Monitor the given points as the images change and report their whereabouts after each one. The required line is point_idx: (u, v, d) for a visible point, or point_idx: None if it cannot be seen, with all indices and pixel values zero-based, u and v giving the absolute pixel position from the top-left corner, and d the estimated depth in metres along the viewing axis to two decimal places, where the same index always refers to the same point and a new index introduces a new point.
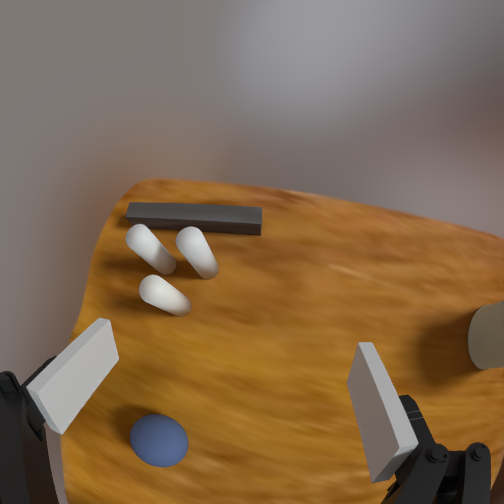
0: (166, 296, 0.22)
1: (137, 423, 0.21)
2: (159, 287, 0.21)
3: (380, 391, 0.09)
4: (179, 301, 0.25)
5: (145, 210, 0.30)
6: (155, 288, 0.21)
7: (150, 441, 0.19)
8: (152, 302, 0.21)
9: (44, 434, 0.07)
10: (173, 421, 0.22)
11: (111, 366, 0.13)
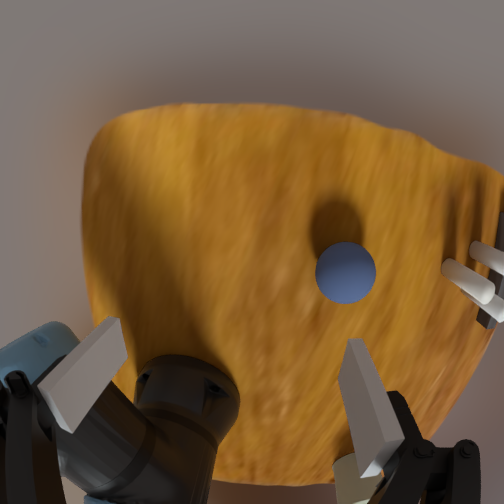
0: (479, 301, 0.20)
1: (370, 259, 0.24)
2: (487, 299, 0.19)
3: (368, 386, 0.09)
4: (463, 289, 0.23)
5: None
6: (487, 296, 0.19)
7: (362, 285, 0.23)
8: (480, 295, 0.19)
9: (54, 433, 0.07)
10: None
11: (120, 364, 0.13)
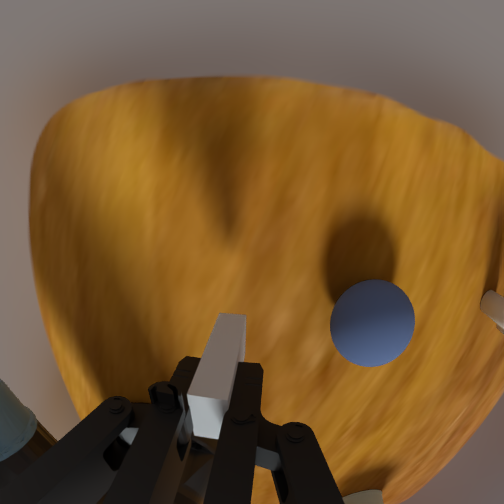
0: None
1: (410, 306, 0.15)
2: None
3: (222, 352, 0.11)
4: None
5: None
6: None
7: (398, 347, 0.14)
8: None
9: (188, 450, 0.08)
10: None
11: None
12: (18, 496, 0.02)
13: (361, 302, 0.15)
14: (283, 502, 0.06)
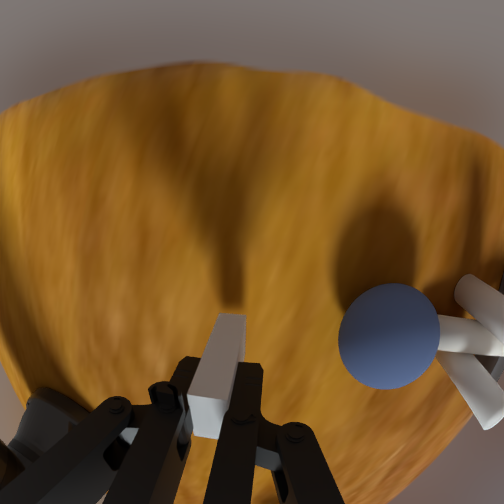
0: None
1: (354, 306, 0.13)
2: None
3: (222, 352, 0.11)
4: None
5: None
6: None
7: None
8: None
9: (188, 450, 0.08)
10: (356, 375, 0.12)
11: None
12: (18, 496, 0.02)
13: None
14: (283, 502, 0.06)
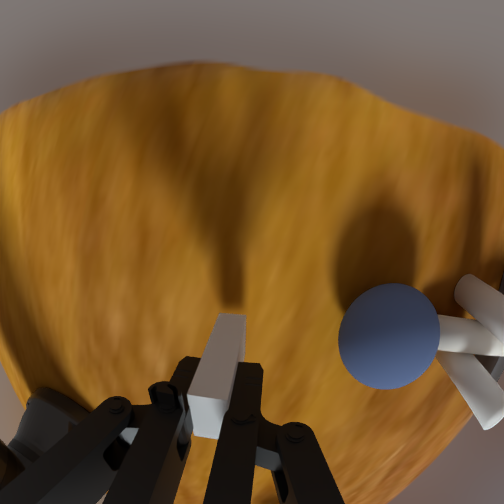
0: None
1: (354, 306, 0.13)
2: None
3: (222, 352, 0.11)
4: None
5: None
6: None
7: None
8: None
9: (188, 450, 0.08)
10: (356, 375, 0.12)
11: None
12: (18, 496, 0.02)
13: None
14: (283, 502, 0.06)
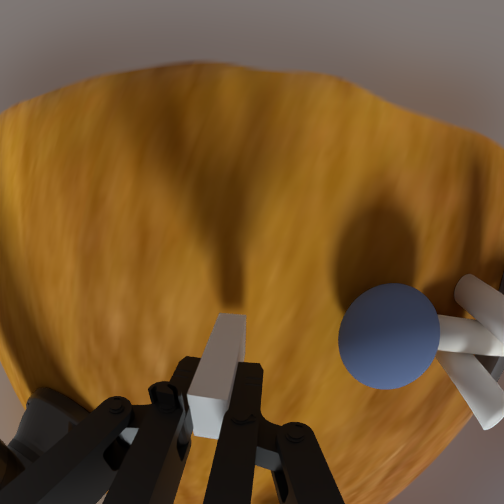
0: None
1: (354, 306, 0.13)
2: None
3: (222, 352, 0.11)
4: None
5: None
6: None
7: None
8: None
9: (188, 450, 0.08)
10: (356, 375, 0.12)
11: None
12: (18, 496, 0.02)
13: None
14: (283, 502, 0.06)
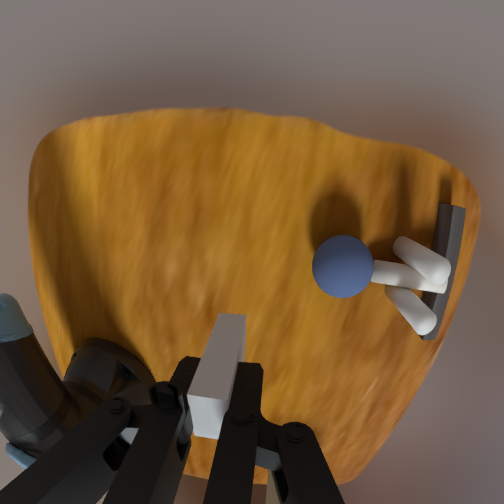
0: (437, 292, 0.24)
1: (319, 246, 0.25)
2: None
3: (222, 352, 0.11)
4: None
5: (456, 230, 0.23)
6: None
7: None
8: (445, 288, 0.23)
9: (188, 450, 0.08)
10: (322, 284, 0.24)
11: None
12: (18, 496, 0.02)
13: None
14: (283, 502, 0.06)
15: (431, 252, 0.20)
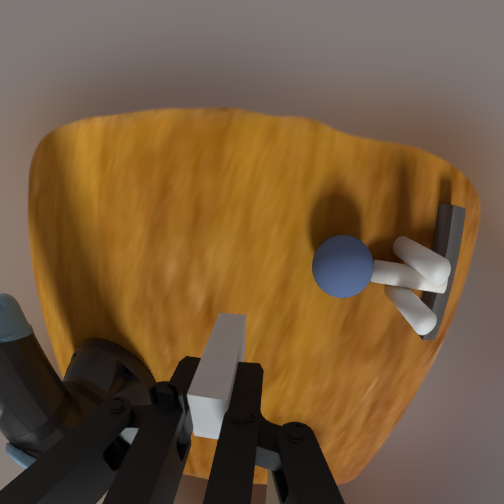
0: (437, 292, 0.24)
1: (319, 246, 0.25)
2: None
3: (222, 352, 0.11)
4: (409, 287, 0.25)
5: (456, 230, 0.23)
6: None
7: None
8: (445, 288, 0.23)
9: (188, 450, 0.08)
10: (322, 284, 0.24)
11: None
12: (18, 496, 0.02)
13: None
14: (283, 502, 0.06)
15: (431, 252, 0.20)
